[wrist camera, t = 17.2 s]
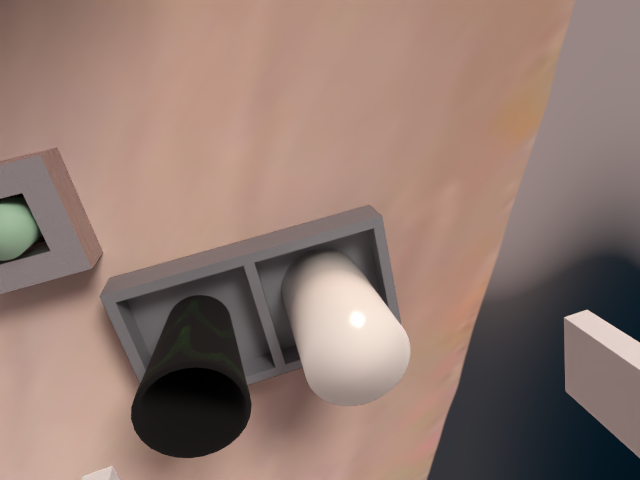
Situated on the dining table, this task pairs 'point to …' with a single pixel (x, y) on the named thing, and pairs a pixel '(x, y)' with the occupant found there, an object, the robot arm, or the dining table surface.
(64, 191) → the grey square socket block
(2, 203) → the button
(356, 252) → the grey divided tray
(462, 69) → the dining table surface
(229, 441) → the cup
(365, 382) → the billet
